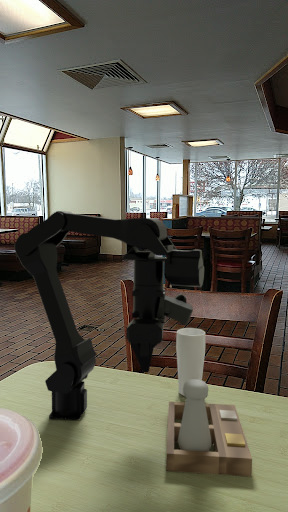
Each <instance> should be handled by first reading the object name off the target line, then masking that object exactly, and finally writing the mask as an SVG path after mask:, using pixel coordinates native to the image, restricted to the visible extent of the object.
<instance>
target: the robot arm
mask: <svg viewBox="0 0 288 512" xmlns="http://www.w3.org/2000/svg"><path fill="white" fill-rule="evenodd" d="M69 233H76V234H84V235H90V236H91V235H92V236H98V237H103V238H111V239H115V240H118V241H120V242H122V243H124V244H127V245H129V246H132V247H131V248H130V249H129V251H128V252H127V253H126V254H125V255H123V256H122V259H123V261H124V260H125V261H133V289H132V292H131V295H132V297H133V310H132V312H131V318H132V320H131V321H130V322H129V323H128V324H127V326H126V330H125V334H126V335H125V337H126V340H127V342H128V343H129V345H130V347H131V349H132V351H133V353H134V355H135V358H136V360H137V362H138V364H139V367H140V369H141V371H142V373H145V374H146V373H147V374H148V373H149V372H150V367H151V363H152V358H153V353H154V348H156V346H158V345H160V344H161V343H162V341H163V338H164V323H165V322H166V321H165V319H166V317H167V318H169V319H171V320H173V321H177V322H179V323H180V324H181V325H184V326H187V325H188V323H189V322H190V319H191V316H192V314H193V311H194V308H193V305H191V303H190V302H189V303H187V296H186V295H184V294H183V293H178V294H176V296H175V297H174V296H168V295H166V289H165V287H164V279H165V280H166V282H169V284H170V286H177V287H178V286H179V287H196V288H197V287H198V288H202V286H203V284H204V279H205V278H204V277H205V266H204V259H203V252H202V251H203V250H201V249H191V250H186V249H185V250H181V249H177V247H176V246H175V245H174V243H173V242H172V240H171V239H170V238H169V236H168V229H167V226H166V225H165V223H164V222H163V221H162V220H161V219H157V218H152V217H151V218H149V217H140V218H139V217H135V218H121V219H116V218H109V217H101V216H95V215H85V214H79V213H72V212H71V211H62V210H58V211H55V212H53V213H52V214H51V215H49V216H48V217H47V218H46V219H44V220H43V221H41V222H40V223H38V224H37V225H35V226H33V227H32V228H30V229H29V230H28V231H27V232H24V233H21V234H20V235H19V236H18V237H17V239H16V241H15V242H14V252H15V255H16V256H17V258H18V259H19V262H20V263H21V265H22V267H23V268H24V269H25V270H26V271H27V272H28V273H29V274H30V275H31V276H32V277H33V279H34V282H35V284H36V288H37V292H38V295H39V297H40V300H41V303H42V306H43V309H44V310H45V311H44V312H45V314H46V317H47V321H48V323H49V326H50V328H51V332H52V335H53V338H54V342H55V346H54V347H55V348H54V356H53V357H54V364H55V370H54V372H53V373H51V374H50V375H49V377H48V378H46V379H45V385H46V389H47V391H48V392H51V412H50V413H49V415H48V417H49V418H48V419H53V420H67V421H68V420H71V421H79V420H81V418H82V416H83V414H84V413H85V412H86V410H87V407H88V389H87V388H85V381H84V380H85V379H88V376H89V374H90V373H91V372H92V371H93V370H94V369H95V365H96V363H97V361H96V360H97V359H96V357H97V355H98V354H97V352H96V350H95V349H94V346H93V341H92V339H91V338H90V337H87V339H84V338H83V337H82V335H80V333H79V331H78V328H77V326H76V324H75V323H76V322H75V320H74V317H73V314H72V311H71V308H70V305H69V302H68V300H67V297H66V295H65V291H64V288H63V285H62V282H61V279H60V277H59V274H58V270H57V265H58V256H59V255H58V250H57V248H58V246H59V245H60V244H61V243H62V242H63V241H64V240H65V239H66V237H67V236H68V234H69ZM139 249H141V250H143V251H141V250H139ZM144 250H145V251H144ZM147 250H149V251H147Z"/></svg>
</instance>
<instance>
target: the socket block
mask: <svg viewBox="0 0 288 512" xmlns="http://www.w3.org/2000/svg"><path fill="white" fill-rule="evenodd" d="M185 402H186V401H168V409H167V410H168V411H167V433H166V434H167V435H166V436H167V437H166V438H167V439H166V463H165V464H166V466H165V467H166V468H165V469H166V470H165V471H167V472H178V473H190V474H191V473H193V474H206V475H221V476H222V475H223V476H237V477H250V478H251V477H252V476H253V475H252V474H253V473H252V471H253V457H252V453H251V451H250V447H249V445H248V442H247V438H246V436H245V433H244V429H243V427H242V426H243V425H242V423H241V419H240V417H239V414H238V413H239V412H238V410H237V408H236V405H235V404H225V403H222V404H221V403H206V402H205V406H206V413H207V419H208V422H209V430H210V436H211V445H213V449H214V451H209V452H208V451H191V450H180V449H175V443H178V437H179V432H180V427H181V422H175V420H182V417H183V412H184V407H185Z"/></svg>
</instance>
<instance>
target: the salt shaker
mask: <svg viewBox="0 0 288 512" xmlns="http://www.w3.org/2000/svg"><path fill="white" fill-rule="evenodd" d="M183 393H184V395H185V396H184V397H185V398H186V399H185V401H184V402H185V407H184V412H183V417H182V419H181V422H180V423H181V427H180V432H179V437H178V442H177V444H178V448H179V450H191V451H208V452H211V451H210V450H211V447H212V444H211V436H210V430H209V425H210V423H209V420H208V419H207V413H206V406H205V403H206V401H205V399H207V398H208V396H209V385H208V384H207V383H206V382H205V381H204V380H202V381H201V380H197V379H192V380H188V381H186V382H185V383H184V387H183Z"/></svg>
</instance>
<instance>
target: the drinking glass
mask: <svg viewBox="0 0 288 512" xmlns="http://www.w3.org/2000/svg"><path fill="white" fill-rule="evenodd" d="M175 339H176V341H175V343H176V344H175V345H176V346H175V347H176V362H177V378H178V379H177V380H178V381H177V382H178V394H180V395H181V396H183V397H185V395H184V393H183V387H184V383H185V382H186V381H188V380H192V379H197V380H201V381H203V380H202V379H203V371H204V363H205V353H206V331H204V329H200V328H196V327H195V328H194V327H185V328H179V329H177V330H176V338H175Z"/></svg>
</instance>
